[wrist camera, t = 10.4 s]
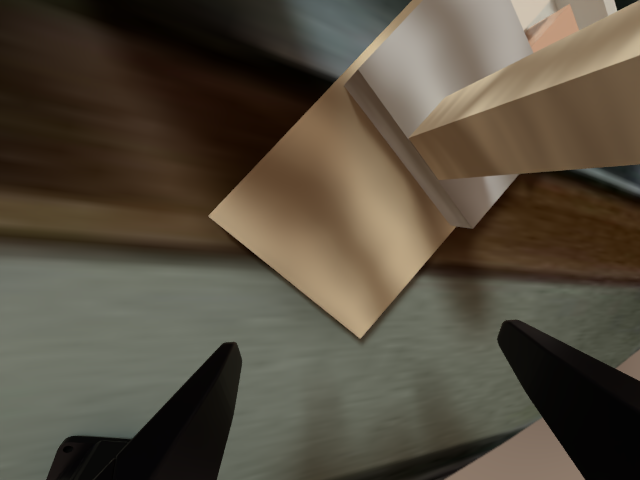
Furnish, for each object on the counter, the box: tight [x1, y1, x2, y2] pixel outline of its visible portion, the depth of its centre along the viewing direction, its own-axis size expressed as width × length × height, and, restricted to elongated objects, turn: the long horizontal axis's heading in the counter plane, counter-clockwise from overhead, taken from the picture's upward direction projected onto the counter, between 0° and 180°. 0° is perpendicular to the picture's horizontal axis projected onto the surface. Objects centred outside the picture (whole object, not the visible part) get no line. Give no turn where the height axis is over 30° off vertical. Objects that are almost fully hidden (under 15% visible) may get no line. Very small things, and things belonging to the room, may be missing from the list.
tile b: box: [525, 4, 579, 53], centre depth 18 cm, size 5×5×2 cm
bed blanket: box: [344, 0, 640, 229], centre depth 12 cm, size 11×13×12 cm
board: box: [209, 0, 456, 339], centre depth 17 cm, size 21×14×2 cm, turn 137°
